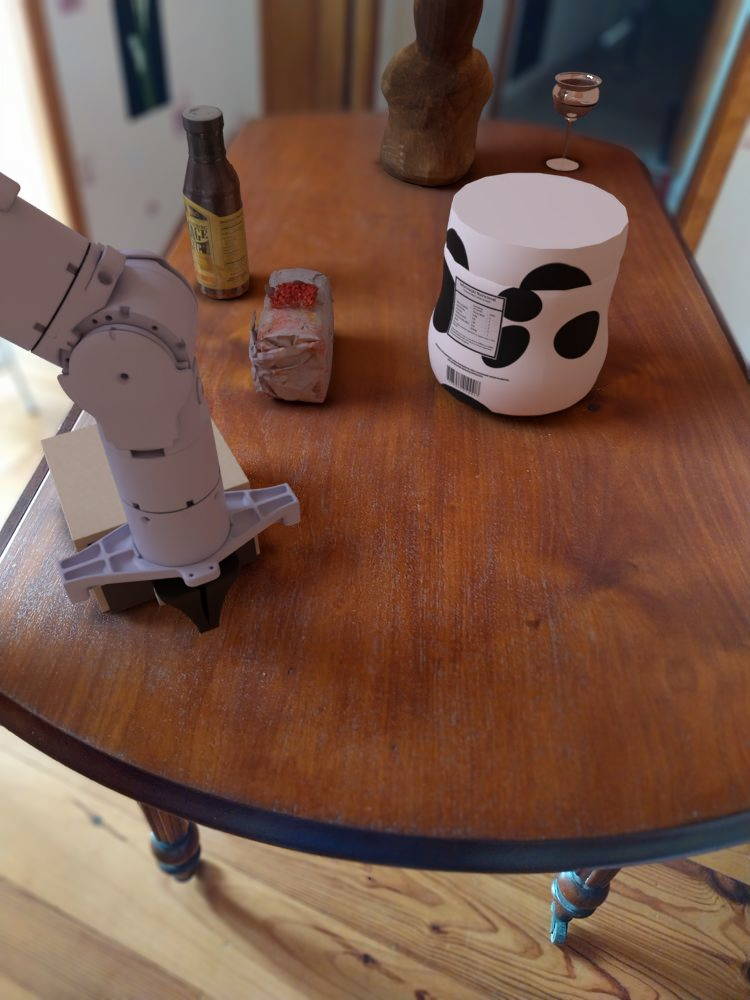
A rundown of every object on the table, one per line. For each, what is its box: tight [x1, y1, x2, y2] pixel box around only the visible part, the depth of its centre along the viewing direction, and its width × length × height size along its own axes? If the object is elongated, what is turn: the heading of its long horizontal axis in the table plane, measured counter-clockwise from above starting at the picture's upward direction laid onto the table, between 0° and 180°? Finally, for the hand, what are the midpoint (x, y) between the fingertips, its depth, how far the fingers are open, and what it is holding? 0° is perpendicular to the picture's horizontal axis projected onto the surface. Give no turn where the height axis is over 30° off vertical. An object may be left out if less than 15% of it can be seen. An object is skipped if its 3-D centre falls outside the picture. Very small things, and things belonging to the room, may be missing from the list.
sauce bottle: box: [181, 104, 251, 300], centre depth 82 cm, size 7×6×20 cm
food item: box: [248, 267, 335, 404], centre depth 74 cm, size 14×8×10 cm, turn 1°
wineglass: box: [546, 71, 603, 172], centre depth 112 cm, size 7×7×12 cm
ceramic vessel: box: [379, 0, 495, 187], centre depth 102 cm, size 16×22×30 cm
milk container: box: [427, 172, 629, 418], centre depth 71 cm, size 17×17×18 cm
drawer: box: [86, 537, 258, 615], centre depth 56 cm, size 14×11×6 cm
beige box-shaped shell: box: [39, 415, 261, 613], centre depth 59 cm, size 12×13×8 cm
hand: (205, 620), depth 52 cm, fingers closed, pressing on drawer
